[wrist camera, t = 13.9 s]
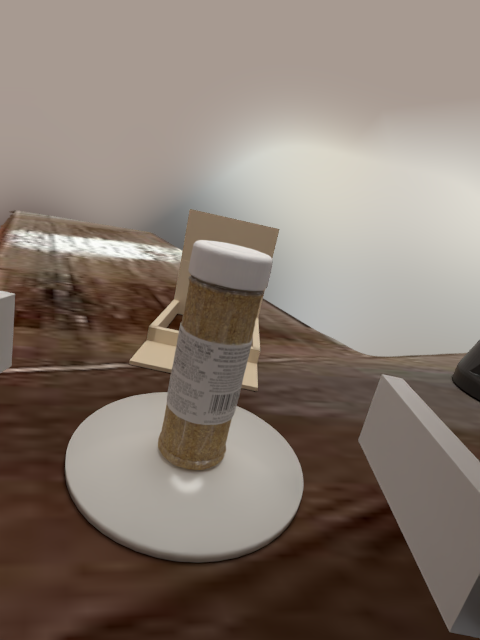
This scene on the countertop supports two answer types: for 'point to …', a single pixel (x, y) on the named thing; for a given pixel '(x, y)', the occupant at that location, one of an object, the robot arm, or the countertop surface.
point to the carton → (199, 227)
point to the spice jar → (212, 351)
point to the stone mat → (181, 485)
